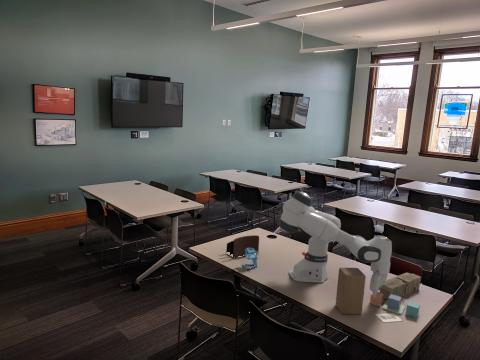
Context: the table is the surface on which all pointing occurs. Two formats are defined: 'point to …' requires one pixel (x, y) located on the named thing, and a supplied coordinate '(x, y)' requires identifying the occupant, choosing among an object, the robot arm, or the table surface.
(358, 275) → the wooden block
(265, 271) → the table surface
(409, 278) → the block tower
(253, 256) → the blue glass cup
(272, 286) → the table surface
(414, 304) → the teal cube
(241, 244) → the letter holder
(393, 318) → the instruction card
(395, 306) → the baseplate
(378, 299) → the orange cube
